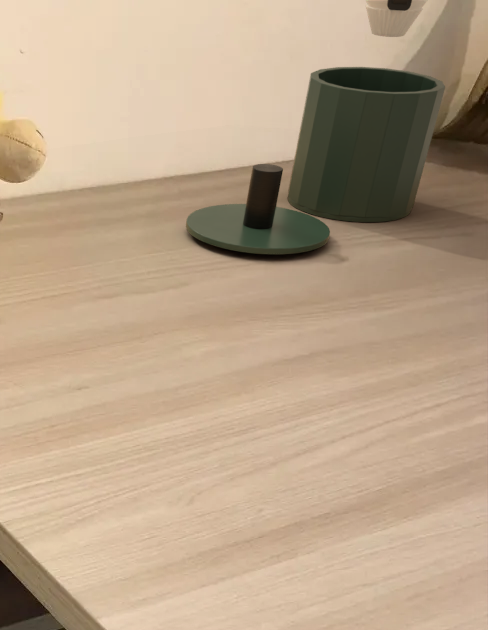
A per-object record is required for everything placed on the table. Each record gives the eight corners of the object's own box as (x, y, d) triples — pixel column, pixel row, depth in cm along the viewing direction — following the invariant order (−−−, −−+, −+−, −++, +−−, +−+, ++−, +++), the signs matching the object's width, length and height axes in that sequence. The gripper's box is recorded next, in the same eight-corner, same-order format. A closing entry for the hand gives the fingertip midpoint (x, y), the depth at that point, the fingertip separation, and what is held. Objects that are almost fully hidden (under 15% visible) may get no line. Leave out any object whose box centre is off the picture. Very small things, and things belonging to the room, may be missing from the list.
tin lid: (325, 221, 112) (340, 155, 107) (329, 266, 101) (345, 194, 96) (190, 210, 114) (199, 144, 110) (179, 253, 103) (188, 181, 99)
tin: (405, 191, 121) (437, 71, 113) (416, 227, 111) (451, 97, 103) (287, 182, 123) (310, 63, 115) (286, 216, 113) (311, 88, 105)
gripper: (395, -211, 100) (353, -6, 111) (408, -213, 89) (360, 13, 100) (476, -209, 99) (426, -3, 109) (499, -212, 88) (441, 17, 99)
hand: (395, 4), depth 105 cm, fingers closed on muffin, 6 cm apart
